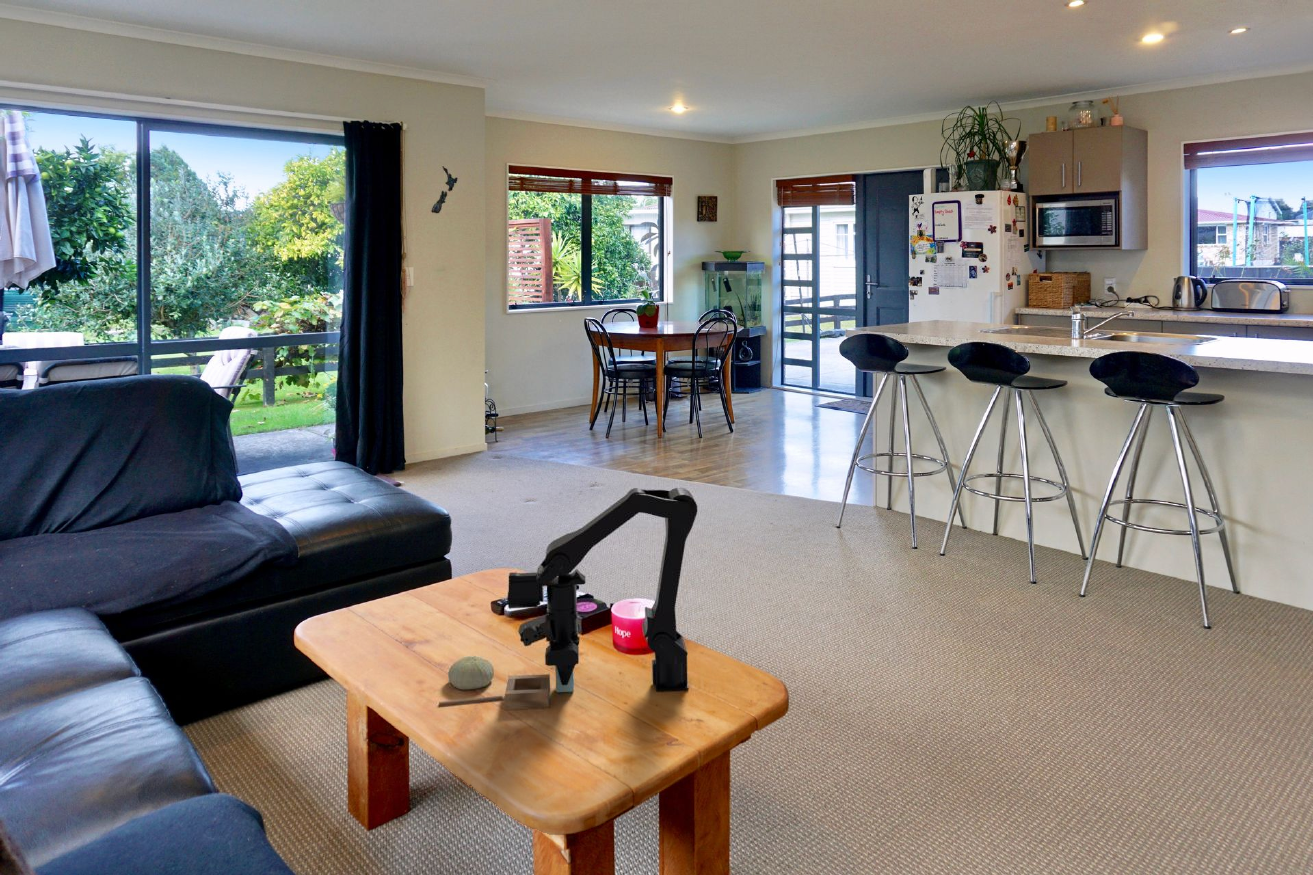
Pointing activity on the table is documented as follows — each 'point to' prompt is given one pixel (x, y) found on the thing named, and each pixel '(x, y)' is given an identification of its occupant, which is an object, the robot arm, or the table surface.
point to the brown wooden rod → (470, 700)
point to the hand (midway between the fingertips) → (565, 680)
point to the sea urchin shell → (471, 673)
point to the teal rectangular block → (564, 687)
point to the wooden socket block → (527, 692)
